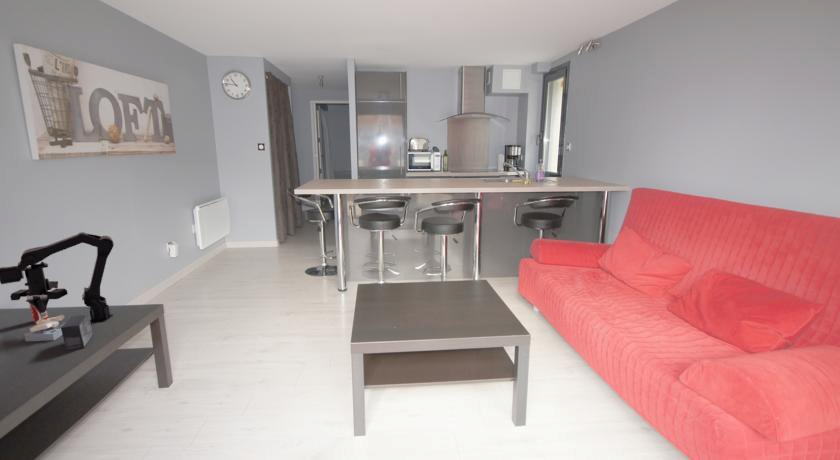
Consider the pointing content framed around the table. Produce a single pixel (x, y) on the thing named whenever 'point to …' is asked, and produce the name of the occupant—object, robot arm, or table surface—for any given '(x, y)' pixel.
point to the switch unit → (45, 334)
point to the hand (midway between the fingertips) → (43, 312)
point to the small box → (77, 332)
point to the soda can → (38, 314)
